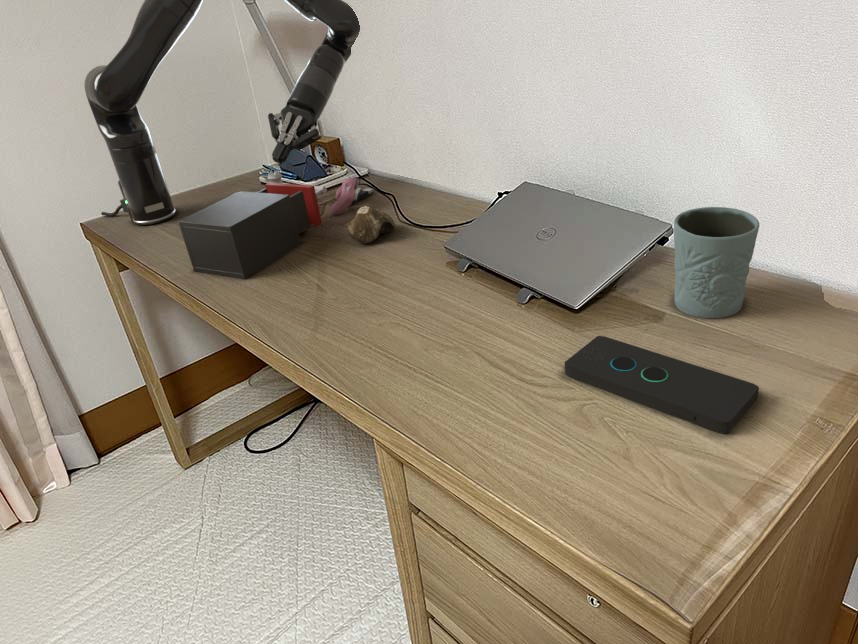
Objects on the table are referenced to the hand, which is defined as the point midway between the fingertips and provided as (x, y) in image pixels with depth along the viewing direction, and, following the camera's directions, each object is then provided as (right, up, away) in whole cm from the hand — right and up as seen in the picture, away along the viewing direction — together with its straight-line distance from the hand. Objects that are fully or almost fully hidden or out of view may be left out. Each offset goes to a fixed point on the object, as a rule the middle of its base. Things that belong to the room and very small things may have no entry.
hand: (276, 161), depth 146 cm
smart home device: (+58, -42, -67) cm, 98 cm away
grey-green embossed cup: (+70, -32, -53) cm, 94 cm away
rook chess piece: (0, -9, +7) cm, 11 cm away
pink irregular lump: (+15, -10, +1) cm, 18 cm away
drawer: (+4, -16, -9) cm, 18 cm away
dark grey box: (-2, -22, -17) cm, 28 cm away
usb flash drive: (+16, -7, +6) cm, 18 cm away
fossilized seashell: (+22, -18, -16) cm, 32 cm away
